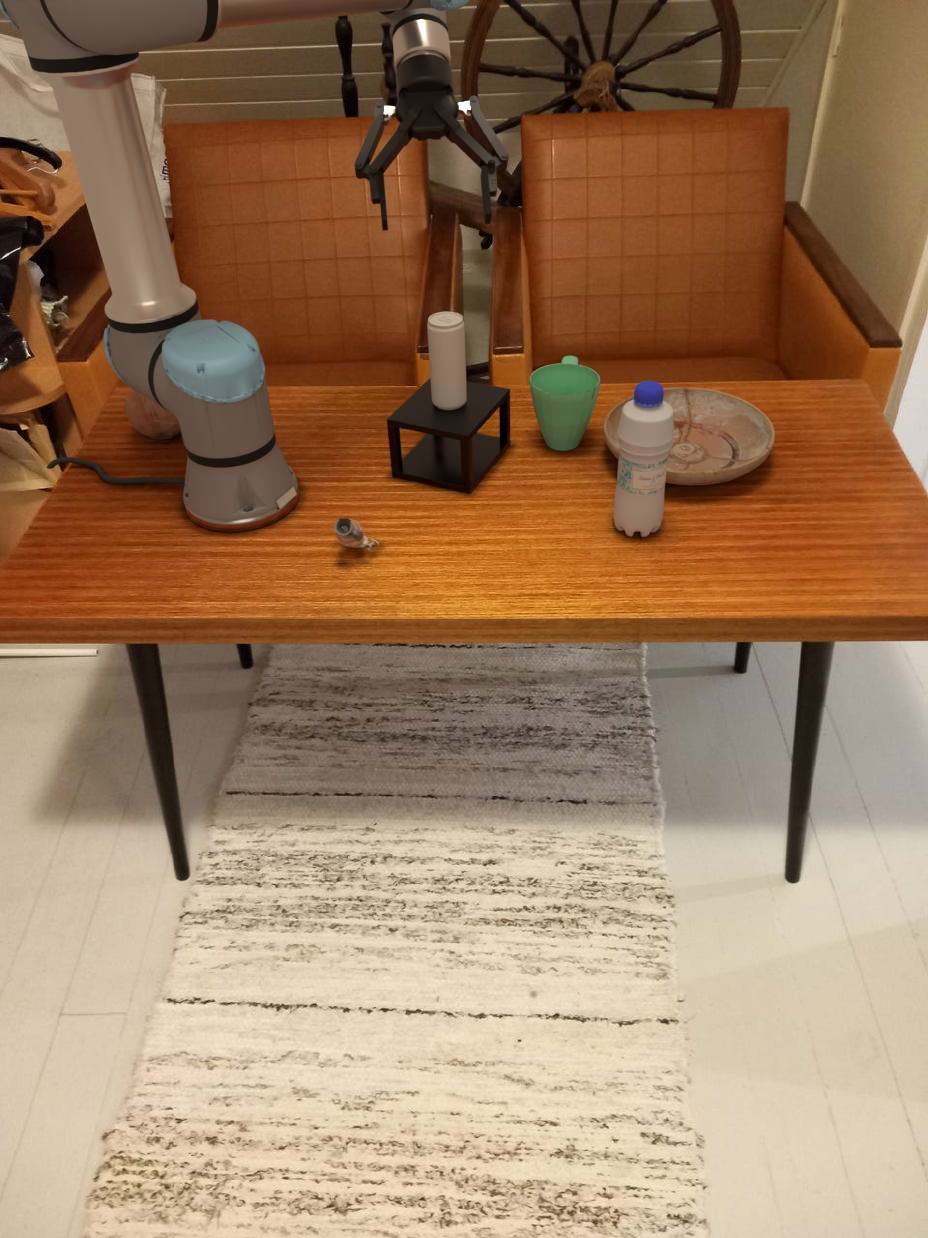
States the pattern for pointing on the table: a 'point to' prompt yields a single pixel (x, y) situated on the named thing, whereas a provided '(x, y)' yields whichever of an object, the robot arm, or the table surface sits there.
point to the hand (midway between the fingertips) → (436, 222)
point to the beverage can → (447, 360)
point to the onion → (150, 417)
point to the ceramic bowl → (707, 435)
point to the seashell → (351, 533)
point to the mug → (564, 401)
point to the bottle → (643, 460)
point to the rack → (450, 438)
